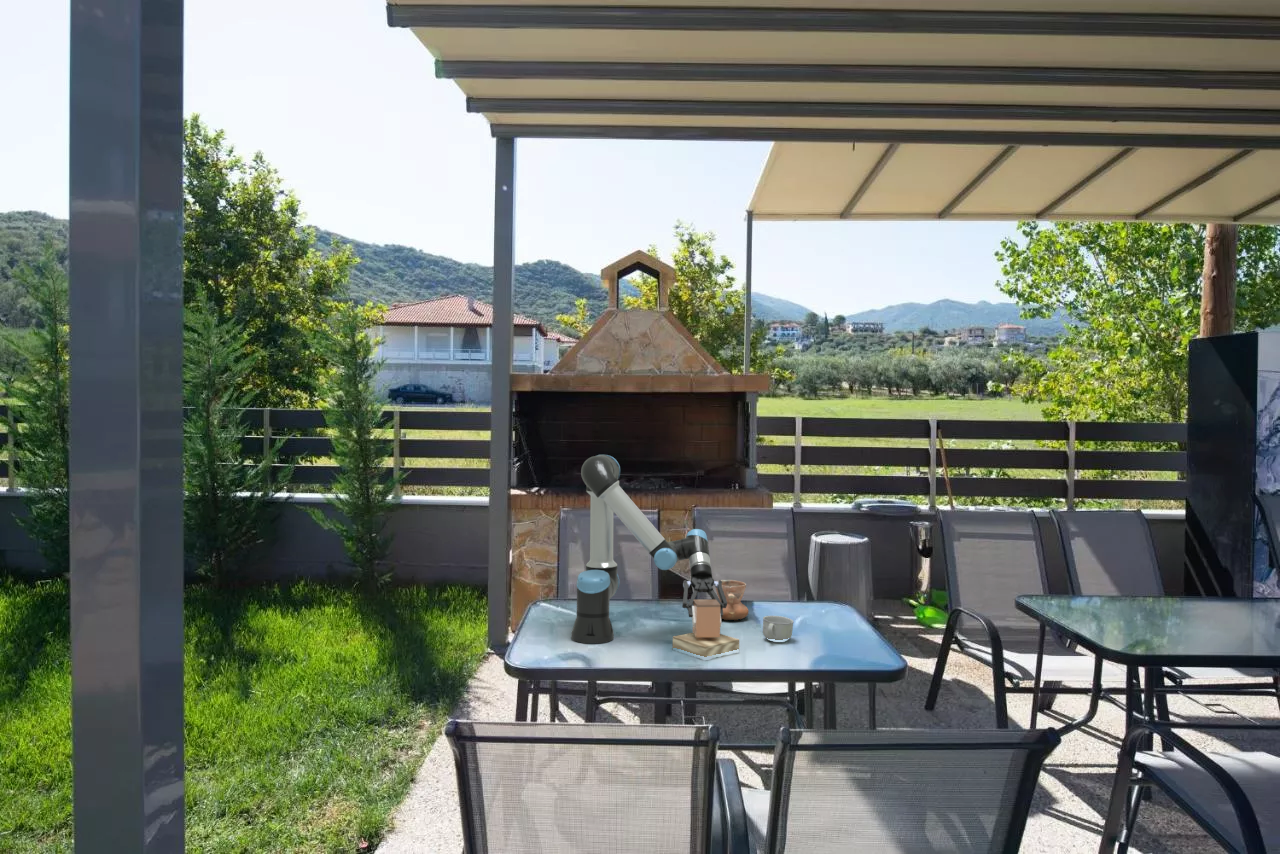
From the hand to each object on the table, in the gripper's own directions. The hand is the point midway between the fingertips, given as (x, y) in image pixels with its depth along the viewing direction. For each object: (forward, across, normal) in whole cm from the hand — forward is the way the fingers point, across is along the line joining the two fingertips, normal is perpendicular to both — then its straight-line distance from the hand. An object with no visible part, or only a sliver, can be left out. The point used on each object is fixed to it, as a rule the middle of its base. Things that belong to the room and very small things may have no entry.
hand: (707, 624), depth 296 cm
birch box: (+6, 0, -8) cm, 10 cm away
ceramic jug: (-27, -18, -41) cm, 52 cm away
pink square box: (+1, 0, -4) cm, 4 cm away
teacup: (-3, -27, -16) cm, 32 cm away
